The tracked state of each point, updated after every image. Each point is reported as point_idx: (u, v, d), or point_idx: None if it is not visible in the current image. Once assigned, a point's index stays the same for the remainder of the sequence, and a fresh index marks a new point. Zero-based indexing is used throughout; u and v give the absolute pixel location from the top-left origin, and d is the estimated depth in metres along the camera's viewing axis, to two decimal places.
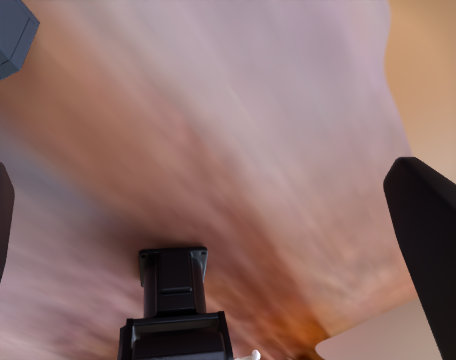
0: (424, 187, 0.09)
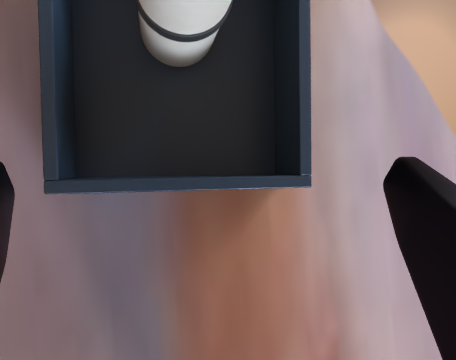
0: (424, 187, 0.09)
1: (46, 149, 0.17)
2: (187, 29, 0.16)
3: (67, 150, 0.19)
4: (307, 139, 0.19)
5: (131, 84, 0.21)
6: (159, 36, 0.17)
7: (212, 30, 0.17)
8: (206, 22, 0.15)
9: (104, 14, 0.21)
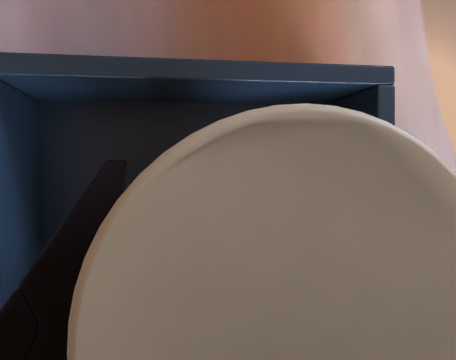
0: None
1: None
2: None
3: None
4: None
5: None
6: None
7: None
8: None
9: None
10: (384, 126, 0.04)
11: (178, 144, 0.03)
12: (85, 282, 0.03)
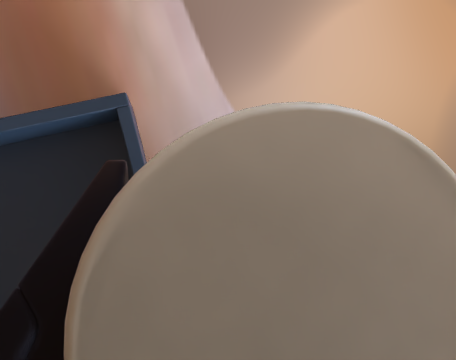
0: None
1: None
2: None
3: None
4: None
5: (2, 284, 0.20)
6: None
7: None
8: None
9: None
10: (382, 125, 0.04)
11: (175, 143, 0.03)
12: (82, 281, 0.03)
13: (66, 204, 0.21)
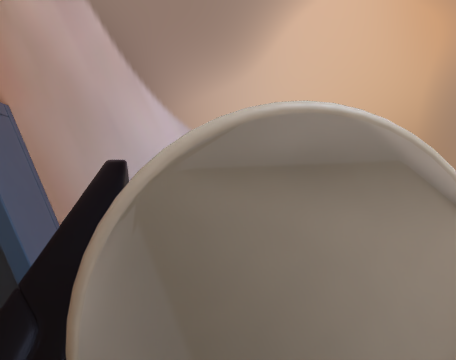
0: None
1: None
2: None
3: None
4: None
5: None
6: None
7: None
8: None
9: None
10: (384, 124, 0.03)
11: (177, 141, 0.03)
12: (84, 280, 0.03)
13: None
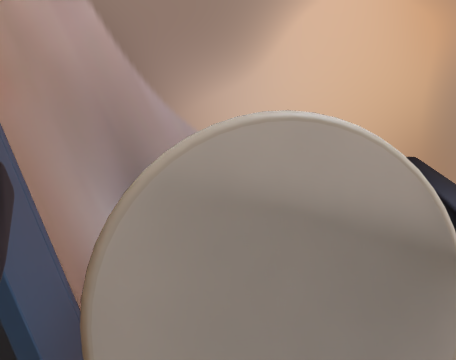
0: None
1: None
2: None
3: None
4: None
5: None
6: None
7: None
8: None
9: None
10: (357, 130, 0.04)
11: (177, 145, 0.04)
12: (96, 264, 0.04)
13: None
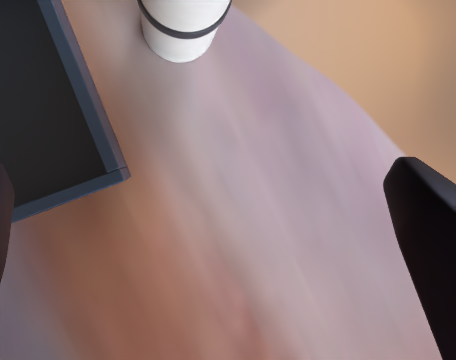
0: (424, 187, 0.09)
1: None
2: (187, 27, 0.16)
3: None
4: (100, 132, 0.17)
5: None
6: (160, 33, 0.18)
7: (212, 28, 0.17)
8: (206, 20, 0.16)
9: None
10: None
11: None
12: None
13: None
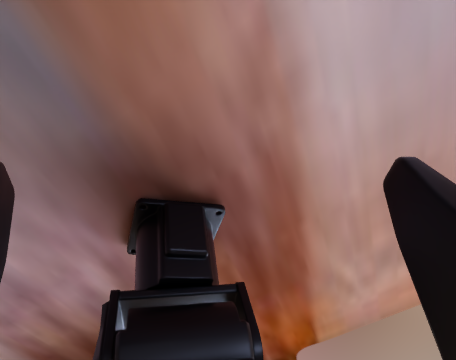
0: (424, 187, 0.09)
1: None
2: None
3: None
4: None
5: None
6: None
7: None
8: None
9: None
10: None
11: None
12: None
13: None
